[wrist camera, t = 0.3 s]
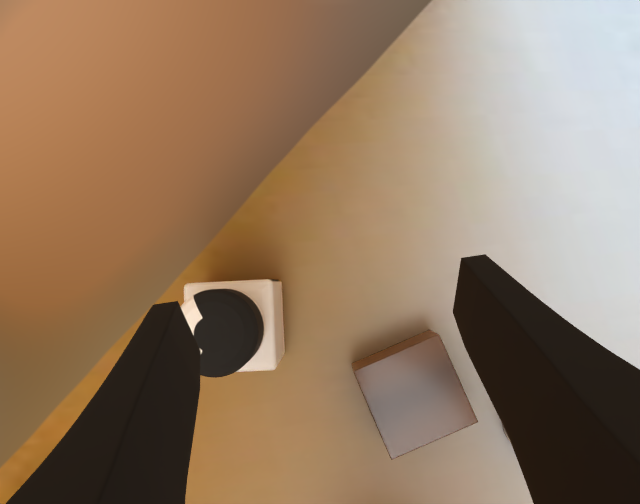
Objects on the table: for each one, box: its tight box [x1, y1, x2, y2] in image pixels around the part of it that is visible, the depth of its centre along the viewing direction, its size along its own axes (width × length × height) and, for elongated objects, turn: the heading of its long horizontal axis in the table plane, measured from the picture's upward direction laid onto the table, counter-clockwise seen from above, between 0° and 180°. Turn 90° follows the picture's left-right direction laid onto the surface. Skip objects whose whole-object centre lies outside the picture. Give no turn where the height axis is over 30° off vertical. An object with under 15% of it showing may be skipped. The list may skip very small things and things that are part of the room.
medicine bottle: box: [181, 279, 285, 377], centre depth 35 cm, size 7×7×12 cm
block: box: [352, 330, 478, 459], centre depth 39 cm, size 8×8×4 cm
